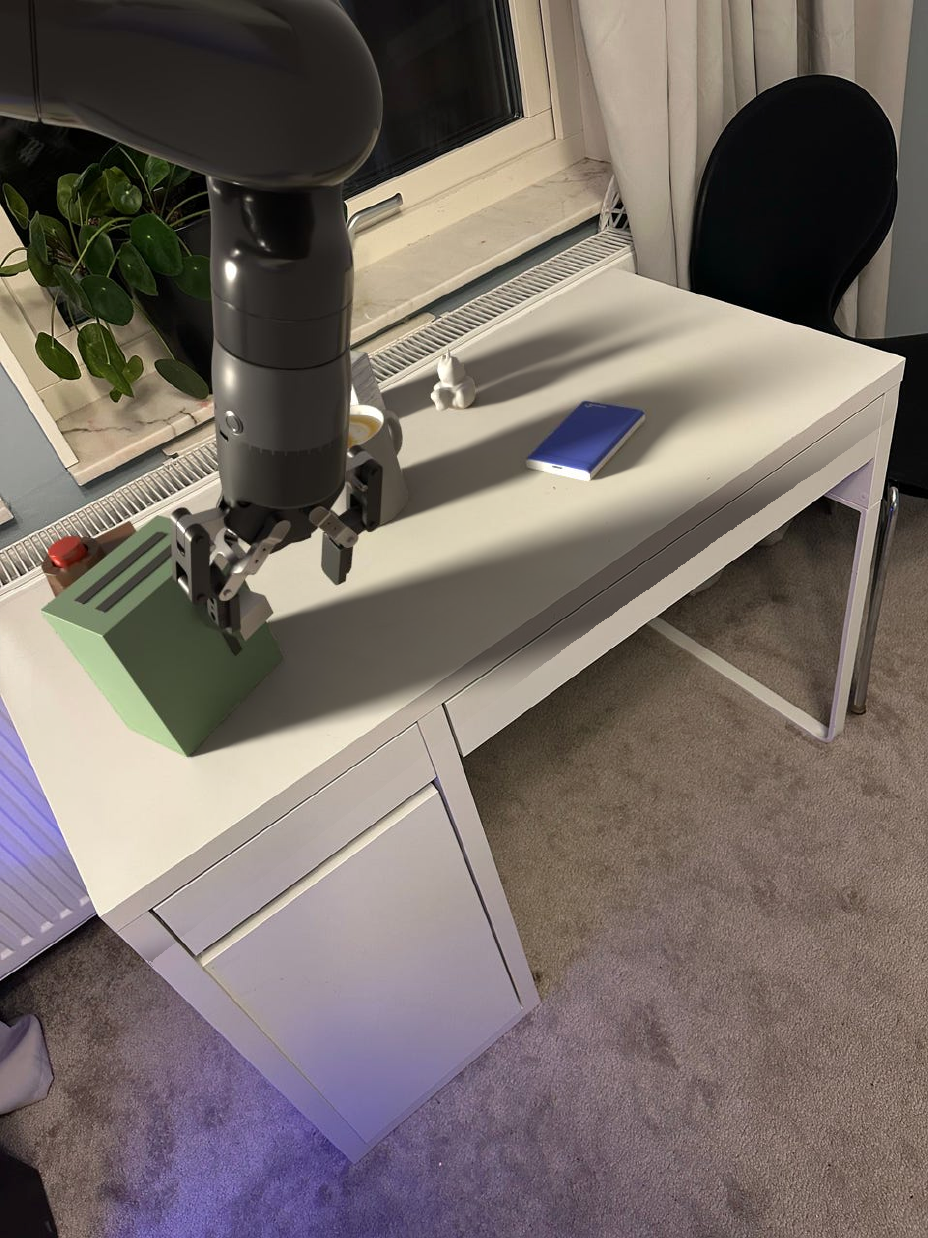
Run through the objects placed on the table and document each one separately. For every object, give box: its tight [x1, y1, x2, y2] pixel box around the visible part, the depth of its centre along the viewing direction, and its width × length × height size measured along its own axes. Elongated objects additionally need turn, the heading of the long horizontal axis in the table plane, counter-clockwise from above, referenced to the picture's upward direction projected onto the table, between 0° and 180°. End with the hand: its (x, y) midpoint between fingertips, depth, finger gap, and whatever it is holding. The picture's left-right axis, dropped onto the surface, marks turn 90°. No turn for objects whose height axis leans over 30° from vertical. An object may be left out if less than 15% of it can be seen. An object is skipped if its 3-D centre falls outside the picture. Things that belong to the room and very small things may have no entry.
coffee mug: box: [331, 404, 409, 532], centre depth 93 cm, size 13×10×10 cm
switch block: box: [40, 520, 138, 598], centre depth 96 cm, size 11×9×4 cm
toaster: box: [39, 514, 285, 758], centre depth 74 cm, size 13×9×15 cm, turn 148°
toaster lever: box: [195, 588, 274, 641], centre depth 69 cm, size 4×5×2 cm
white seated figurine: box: [430, 348, 476, 412], centre depth 105 cm, size 5×7×8 cm
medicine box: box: [350, 350, 387, 410], centre depth 109 cm, size 8×4×9 cm, turn 58°
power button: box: [47, 535, 87, 568], centre depth 94 cm, size 4×4×2 cm
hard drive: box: [525, 400, 646, 482], centre depth 95 cm, size 2×8×12 cm
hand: (282, 599), depth 59 cm, fingers open, 8 cm apart
